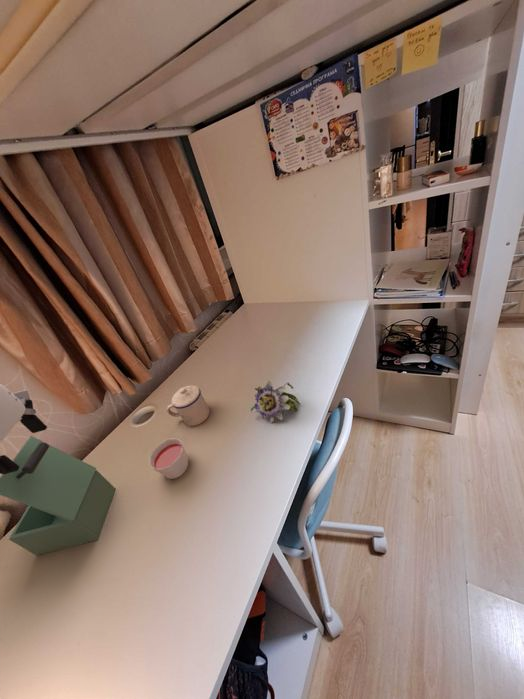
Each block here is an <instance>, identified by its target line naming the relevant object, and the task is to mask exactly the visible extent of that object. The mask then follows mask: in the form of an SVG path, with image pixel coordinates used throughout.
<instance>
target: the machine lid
mask: <svg viewBox="0 0 524 699" xmlns="http://www.w3.org/2000/svg"><path fill="white" fill-rule="evenodd" d="M12 461H13V462H14V463H16V464H17V465H18V466H19V469H18V471H15V472H11V473H7V474H1V475H0V496H2V497H4V498H7V499H10V500H13V501H16V502H18V503H20V504H22V505H23V504H24V505H26V506H27V507H28V506H31V507H34V508H36V509H39V510H42V511H44V512H47V513H50V514H52V515H55V516H58V517H60V518H63V519H65V520H68V521H71V522H72V521H74V519H75V517H76V514H77V512H78V510H79V507H80V505H81V503H82V500H83V498H84V496H85V493H86V491H87V489H88V487H89V484H90V482H91V480H92V477H93V475H94V473H95V470H97V467H95V466H94V465H91V464H89V463H87V462H85V461H83V460H82V459H79V458H77V457H75V456H73V455H71V454H69V453H67V452H66V451H63V450H61V449H59V448H58V447H55V446H53V445H51V444H49V443H47V442H45V441H43V440H41V439H39V438H37V437H35V436H33V435H30V436H29V438H28V439H26V441H25V442H24V444H23V446H22V447H21V448H20V450H19V451H18V452H17V453H16V454H15V456H14V458H13V459H12Z"/></svg>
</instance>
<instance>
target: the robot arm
mask: <svg viewBox="0 0 524 699" xmlns="http://www.w3.org/2000/svg"><path fill="white" fill-rule="evenodd" d="M33 403H34V402H33V400H32V399H31V397H30V394H29V391H28V390H27V389H24V390H20V391H17V392H14V393H13V392H12V391H10V389H8V388H7V387H5V385H2V384H1V383H0V443H2V442H3V440H4V439H5V438H6V437H7V436H8V434H9V433H11V431H12V430H13V428H14V427H15V426H16V425H17V423H18V422H20V423H21V424H22V425H23V426H24V427H25V428H26V429H27V430H28V431H29V432H31V433H32V434H35V433H40V432H43V431H46V430H47V428H48V425H46V424H45V423H44V421H42V420H41V419H40V418H39V417H38V416H37V415H36V413H37V411H36V409H34V406H33V405H34V404H33ZM18 469H19V466H18V465H17V464H16V463H14V462H13V459H11V458H10V457H9V456H7V454H6V455H5V454H2V455H0V474H1V475H2V474H7V473H11V472H15V471H18Z"/></svg>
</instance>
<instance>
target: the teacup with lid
mask: <svg viewBox="0 0 524 699" xmlns="http://www.w3.org/2000/svg"><path fill="white" fill-rule="evenodd" d="M172 408H174V409H175V410H176V412H174V411H172V410H171V409H172ZM166 412H167V414H168V415H169V416H171V417H175V418H177V417H180V418H181V419H182V421H183V423H184V424H185V425H186V426H189V427H195V426H198V425H200V424H202V423H204V422H205V421H206V420H207V419H208V418H209V415H210V412H211V411H210V407H209V406H208V403H207V401H206V399H205V398H204V396H203V394H202V391H201V389H200V388H199V387H198V386H197V385H193V384H192V385H187V386H186V385H185V386H182V387H180V388H179V389H178V390H177V391H176V392H175V393H174V394H173V396H172V398H171V403H170V404H169V405H167V407H166Z"/></svg>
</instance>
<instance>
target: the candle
mask: <svg viewBox="0 0 524 699" xmlns="http://www.w3.org/2000/svg"><path fill="white" fill-rule="evenodd" d="M148 463H149V466H150V467H151V468H152V470H155V471H156V472H158V473H159V474H160V475H162V476H163V477H165V478H167V479H169V480H174V479H177V478H179V477H181V476H183V474H184V473H185V472H186V471H187V469H188V467H189V457H188V455H187V453H186V450H185V447H184V444H183V442H182V441H181V440H180V439H178V438H174V437H173V438H167V439H165V440H163V441H162V442H160V443H158V444H157V445H156V446H155V447H154V448H153V450H152V451H151V453H150V455H149V459H148Z"/></svg>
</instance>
